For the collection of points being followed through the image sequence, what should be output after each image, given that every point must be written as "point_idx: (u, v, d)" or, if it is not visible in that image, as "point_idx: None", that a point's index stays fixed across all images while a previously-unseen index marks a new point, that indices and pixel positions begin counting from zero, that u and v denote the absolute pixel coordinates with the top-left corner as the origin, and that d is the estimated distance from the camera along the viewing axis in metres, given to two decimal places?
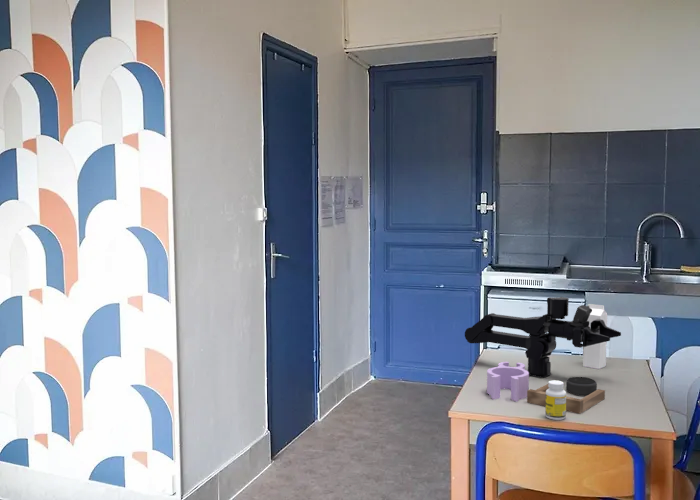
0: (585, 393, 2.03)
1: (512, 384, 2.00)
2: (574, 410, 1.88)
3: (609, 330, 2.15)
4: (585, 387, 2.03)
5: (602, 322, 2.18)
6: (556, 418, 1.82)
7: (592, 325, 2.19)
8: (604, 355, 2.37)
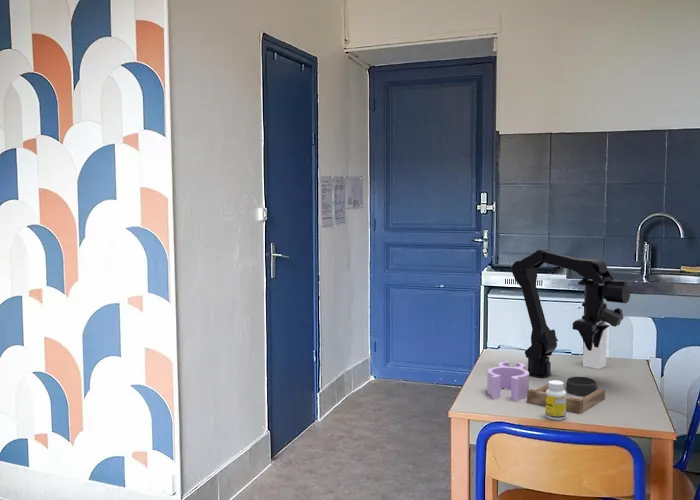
0: (585, 393, 2.03)
1: (512, 384, 2.00)
2: (574, 410, 1.88)
3: (598, 336, 2.14)
4: (585, 387, 2.03)
5: (607, 327, 2.14)
6: (556, 418, 1.82)
7: None
8: (604, 355, 2.37)
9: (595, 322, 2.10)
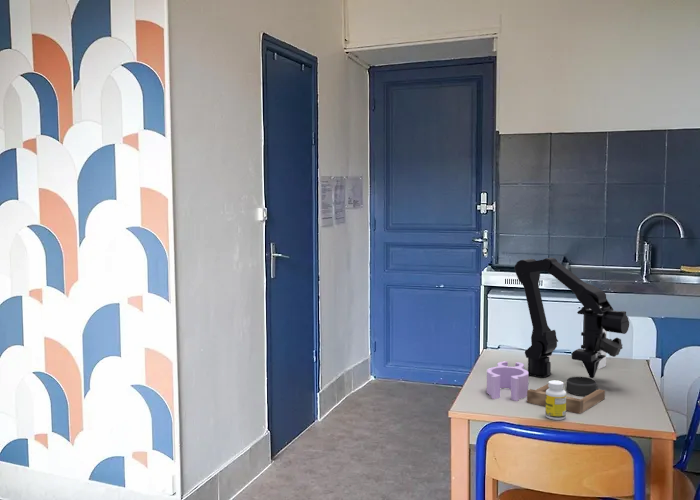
0: (585, 393, 2.03)
1: (512, 384, 2.00)
2: (574, 410, 1.88)
3: None
4: (585, 387, 2.03)
5: (603, 357, 2.13)
6: (556, 418, 1.82)
7: None
8: None
9: (597, 350, 2.13)
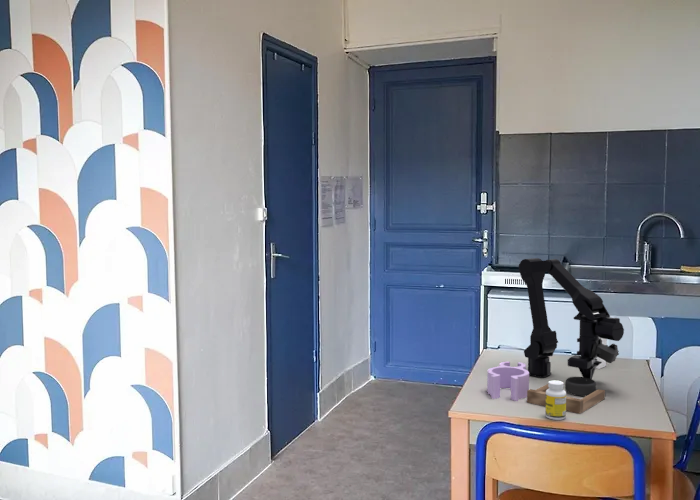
0: (584, 393, 2.03)
1: (512, 384, 2.00)
2: (574, 410, 1.88)
3: None
4: (584, 387, 2.02)
5: None
6: (556, 418, 1.82)
7: None
8: None
9: None
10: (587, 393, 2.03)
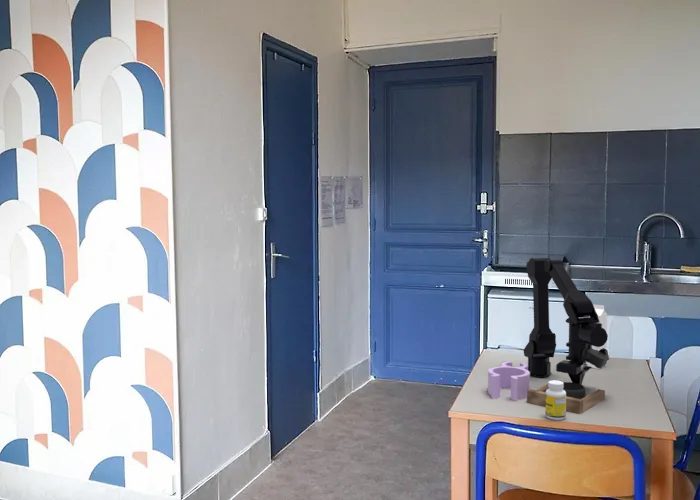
0: None
1: (511, 384, 2.00)
2: (574, 410, 1.88)
3: None
4: (573, 392, 1.96)
5: None
6: (556, 418, 1.82)
7: None
8: None
9: None
10: None
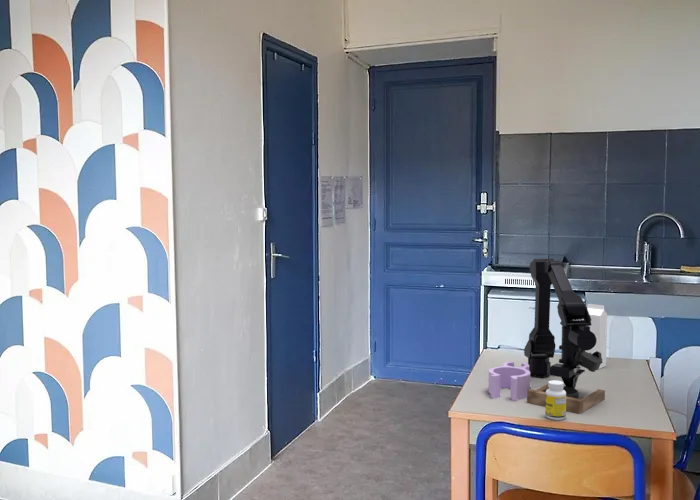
0: None
1: (511, 384, 2.00)
2: (574, 410, 1.88)
3: None
4: None
5: (582, 372, 2.01)
6: (556, 418, 1.82)
7: None
8: (604, 355, 2.37)
9: None
10: None
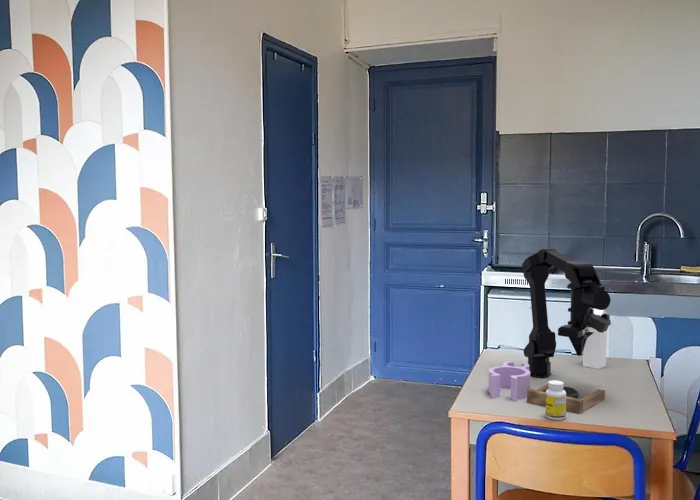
0: None
1: (511, 383, 2.01)
2: (574, 410, 1.88)
3: None
4: None
5: (590, 334, 2.04)
6: (556, 418, 1.82)
7: None
8: (604, 355, 2.37)
9: (585, 327, 2.04)
10: None
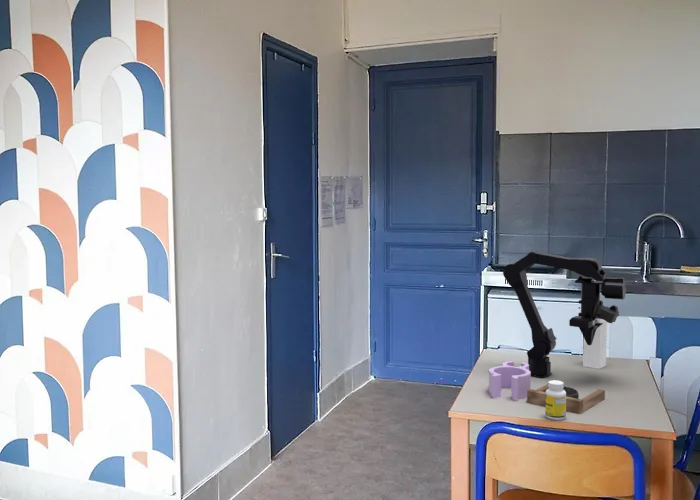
0: None
1: (512, 383, 2.01)
2: (574, 410, 1.88)
3: None
4: None
5: (600, 325, 2.17)
6: (556, 418, 1.82)
7: None
8: (604, 355, 2.37)
9: (594, 318, 2.17)
10: None
